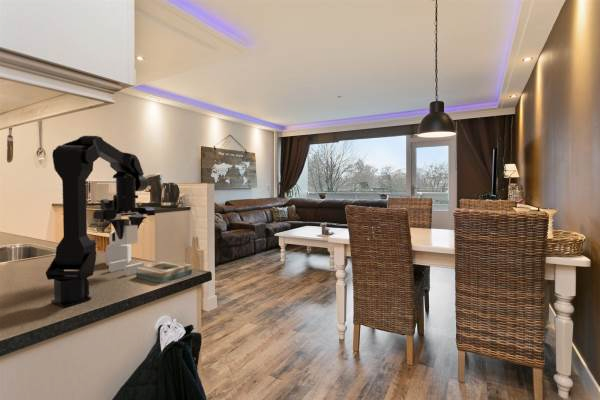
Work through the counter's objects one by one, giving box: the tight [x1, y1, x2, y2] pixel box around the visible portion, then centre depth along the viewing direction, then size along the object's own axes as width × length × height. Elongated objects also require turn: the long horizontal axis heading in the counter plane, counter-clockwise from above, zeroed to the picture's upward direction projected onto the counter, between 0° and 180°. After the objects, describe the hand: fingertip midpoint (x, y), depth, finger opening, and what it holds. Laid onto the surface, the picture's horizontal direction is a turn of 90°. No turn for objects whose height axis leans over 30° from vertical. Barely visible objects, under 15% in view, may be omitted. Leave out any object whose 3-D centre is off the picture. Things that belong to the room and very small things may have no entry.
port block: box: [135, 259, 193, 284], centre depth 106 cm, size 12×12×3 cm
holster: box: [108, 259, 145, 277], centre depth 110 cm, size 6×10×3 cm, turn 63°
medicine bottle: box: [105, 230, 132, 267], centre depth 121 cm, size 7×7×12 cm
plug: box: [114, 218, 139, 245], centre depth 109 cm, size 4×6×8 cm, turn 63°
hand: (126, 238), depth 109 cm, fingers closed on plug, 4 cm apart
